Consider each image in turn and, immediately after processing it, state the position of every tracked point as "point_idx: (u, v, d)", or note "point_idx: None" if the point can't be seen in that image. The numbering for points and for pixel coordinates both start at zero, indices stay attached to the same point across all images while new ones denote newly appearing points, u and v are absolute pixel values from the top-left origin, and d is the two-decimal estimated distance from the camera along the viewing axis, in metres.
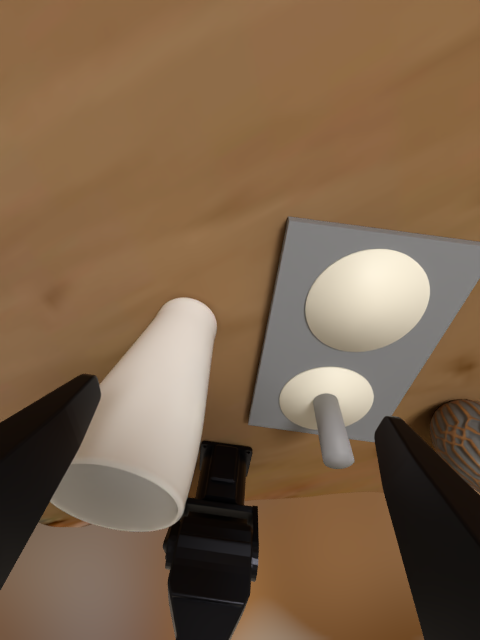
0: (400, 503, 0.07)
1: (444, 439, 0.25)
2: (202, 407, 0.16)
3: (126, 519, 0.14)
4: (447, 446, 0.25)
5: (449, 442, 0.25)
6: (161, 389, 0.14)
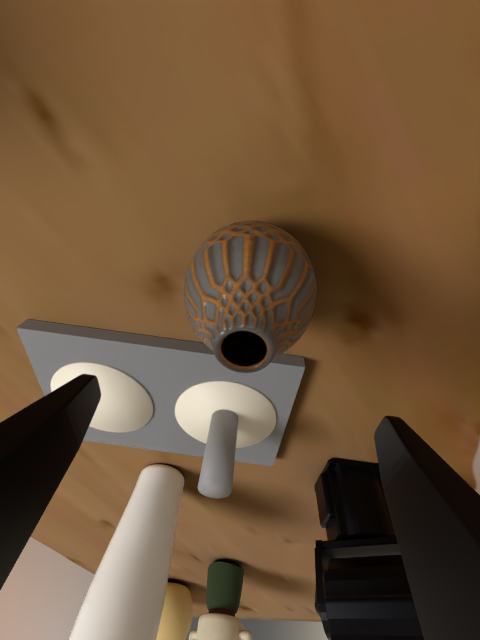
0: (400, 503, 0.07)
1: None
2: (115, 572, 0.23)
3: None
4: None
5: None
6: (87, 591, 0.24)
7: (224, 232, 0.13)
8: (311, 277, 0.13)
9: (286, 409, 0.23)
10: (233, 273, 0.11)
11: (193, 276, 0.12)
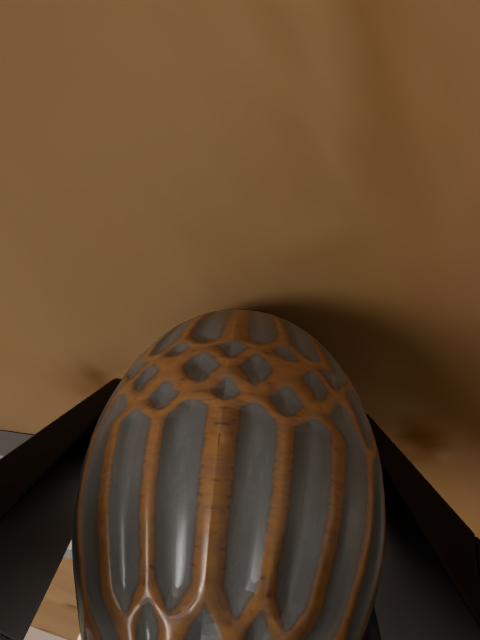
0: None
1: None
2: None
3: None
4: None
5: None
6: None
7: (165, 372, 0.05)
8: (380, 489, 0.05)
9: None
10: (161, 572, 0.04)
11: (79, 501, 0.05)
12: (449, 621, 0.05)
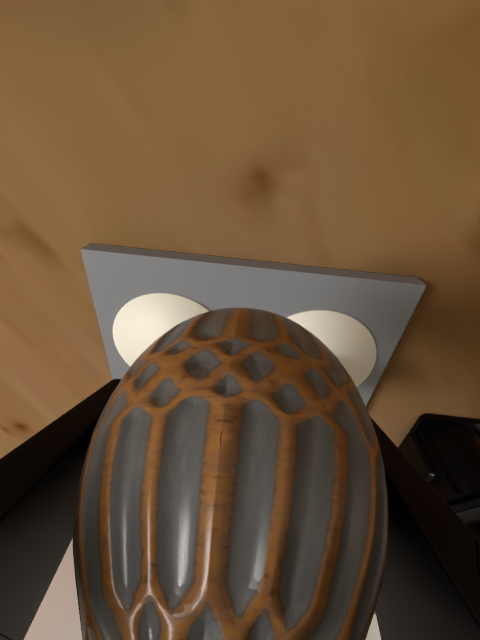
0: None
1: None
2: None
3: None
4: None
5: None
6: None
7: (167, 370, 0.05)
8: (383, 487, 0.05)
9: (390, 346, 0.20)
10: (165, 570, 0.03)
11: (80, 500, 0.05)
12: (449, 621, 0.05)
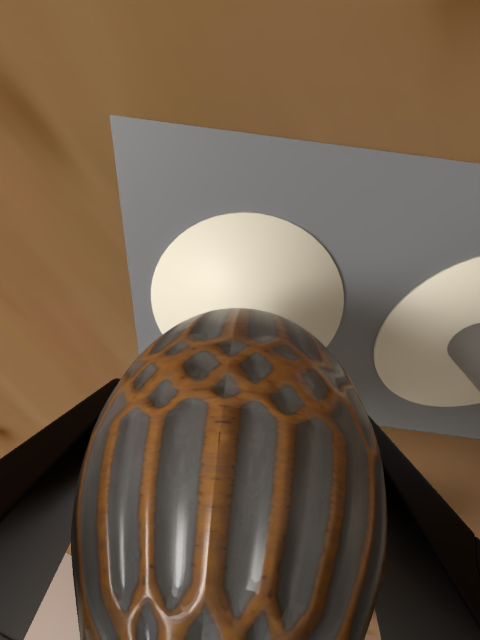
0: None
1: None
2: None
3: None
4: None
5: None
6: None
7: (165, 371, 0.05)
8: (382, 488, 0.05)
9: None
10: (162, 571, 0.03)
11: (78, 501, 0.05)
12: (449, 622, 0.05)
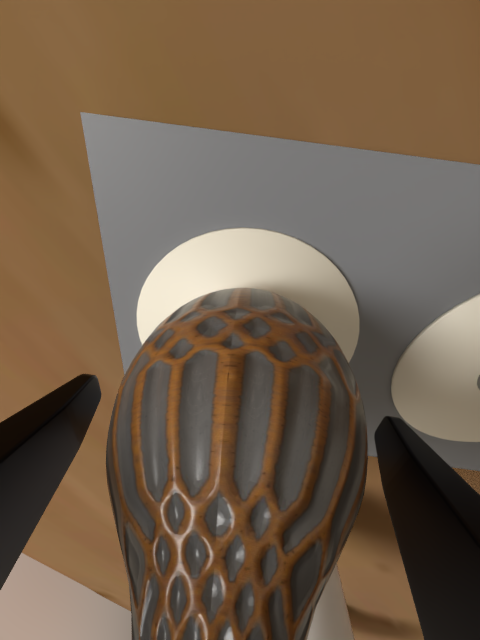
0: (400, 503, 0.07)
1: None
2: None
3: None
4: None
5: None
6: None
7: (182, 332, 0.06)
8: (362, 427, 0.06)
9: None
10: (187, 471, 0.05)
11: (113, 435, 0.06)
12: None
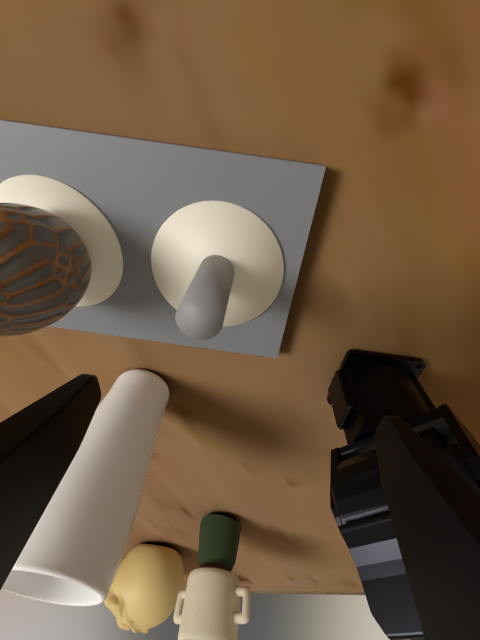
0: (400, 503, 0.07)
1: None
2: (69, 466, 0.18)
3: None
4: None
5: None
6: None
7: None
8: (36, 254, 0.13)
9: (297, 252, 0.18)
10: None
11: None
12: None
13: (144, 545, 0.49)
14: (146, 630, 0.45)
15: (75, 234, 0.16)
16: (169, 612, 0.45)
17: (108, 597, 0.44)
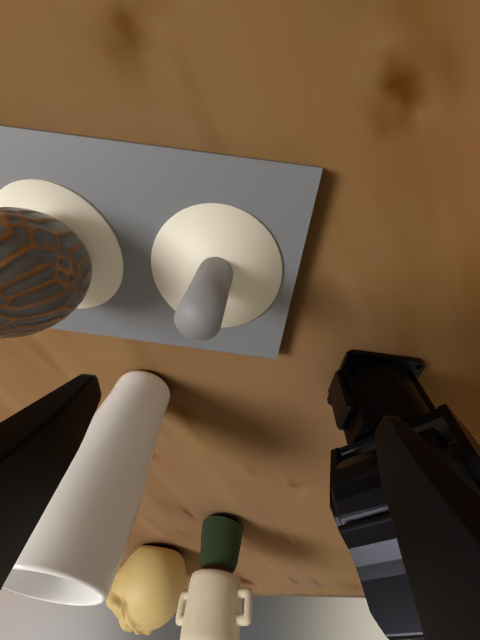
0: (400, 503, 0.07)
1: None
2: (71, 466, 0.18)
3: None
4: None
5: None
6: None
7: None
8: (37, 257, 0.14)
9: (295, 253, 0.18)
10: None
11: None
12: None
13: (146, 546, 0.49)
14: (148, 632, 0.45)
15: (76, 237, 0.17)
16: (171, 614, 0.45)
17: (110, 598, 0.44)
